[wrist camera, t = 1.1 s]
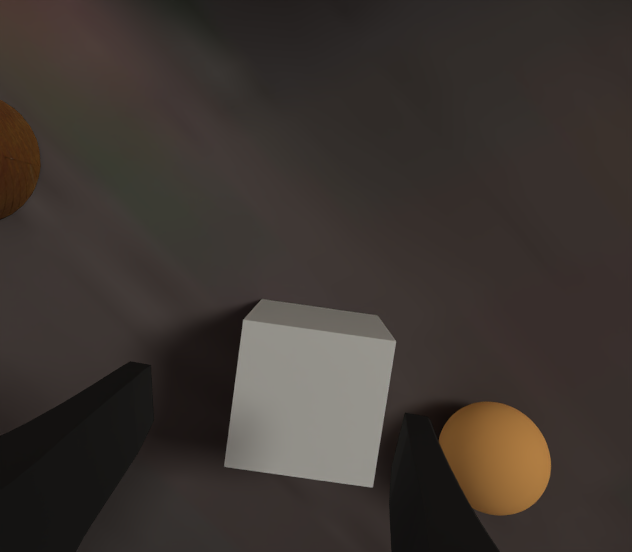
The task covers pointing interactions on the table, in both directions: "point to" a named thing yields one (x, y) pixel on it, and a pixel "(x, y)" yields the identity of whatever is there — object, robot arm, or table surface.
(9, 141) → the disposable coffee cup
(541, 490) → the ball
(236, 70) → the table surface
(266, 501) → the table surface
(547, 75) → the table surface
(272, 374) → the pale grey cube
